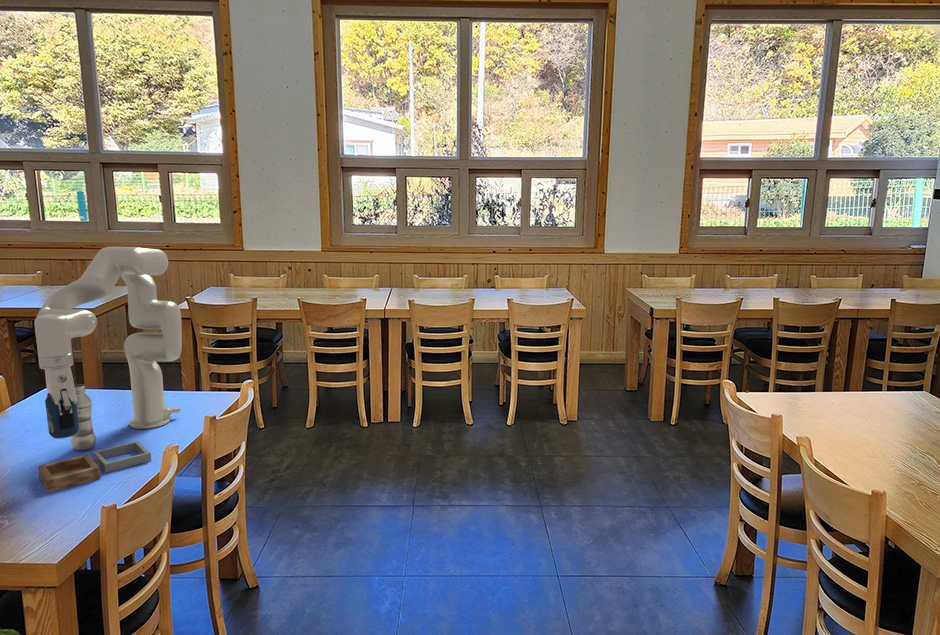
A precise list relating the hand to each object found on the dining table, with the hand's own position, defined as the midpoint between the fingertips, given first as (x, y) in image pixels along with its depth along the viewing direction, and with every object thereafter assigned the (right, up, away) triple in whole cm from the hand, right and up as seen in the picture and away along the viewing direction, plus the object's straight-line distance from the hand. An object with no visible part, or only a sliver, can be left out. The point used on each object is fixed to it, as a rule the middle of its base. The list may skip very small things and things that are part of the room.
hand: (63, 423), depth 165 cm
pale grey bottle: (-9, -12, +23) cm, 27 cm away
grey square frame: (+8, -13, +15) cm, 21 cm away
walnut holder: (0, -16, +3) cm, 16 cm away
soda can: (0, -3, +1) cm, 3 cm away
